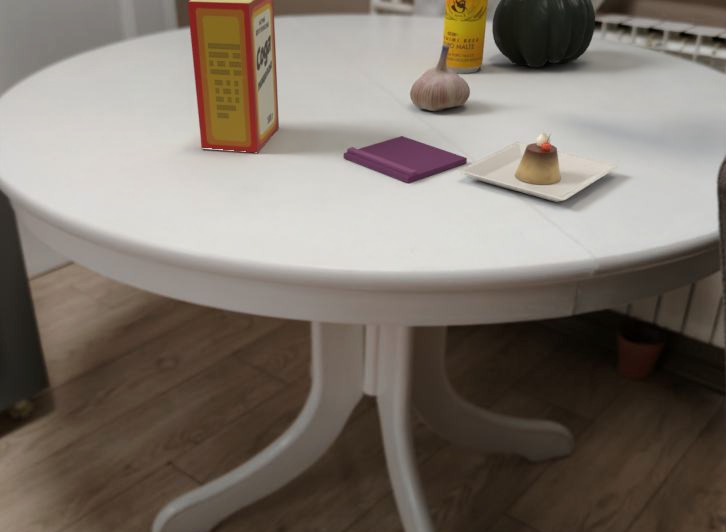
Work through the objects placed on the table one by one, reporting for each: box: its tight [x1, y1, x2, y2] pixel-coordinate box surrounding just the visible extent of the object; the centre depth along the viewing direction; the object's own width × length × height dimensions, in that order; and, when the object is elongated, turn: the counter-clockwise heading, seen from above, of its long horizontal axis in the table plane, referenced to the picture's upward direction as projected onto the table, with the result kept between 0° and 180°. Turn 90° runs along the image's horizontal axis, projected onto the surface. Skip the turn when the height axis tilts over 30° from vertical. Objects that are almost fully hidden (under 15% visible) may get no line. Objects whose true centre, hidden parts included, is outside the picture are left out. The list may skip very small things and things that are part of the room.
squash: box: [491, 0, 596, 68], centre depth 122 cm, size 14×15×15 cm
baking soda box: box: [187, 0, 280, 153], centre depth 90 cm, size 10×6×16 cm
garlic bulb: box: [409, 43, 471, 112], centre depth 103 cm, size 8×7×8 cm
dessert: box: [457, 132, 619, 203], centre depth 82 cm, size 12×12×5 cm
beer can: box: [442, 0, 489, 74], centre depth 118 cm, size 6×6×15 cm
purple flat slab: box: [343, 135, 468, 184], centre depth 88 cm, size 10×9×1 cm
